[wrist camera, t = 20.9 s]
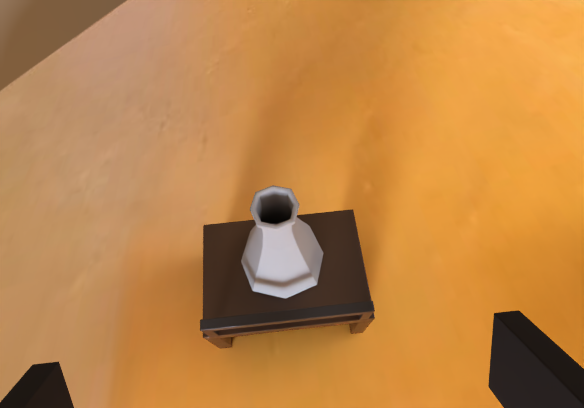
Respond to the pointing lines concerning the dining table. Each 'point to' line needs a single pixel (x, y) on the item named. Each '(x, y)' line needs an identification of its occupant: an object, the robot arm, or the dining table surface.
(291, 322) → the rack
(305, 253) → the flask
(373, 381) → the dining table surface
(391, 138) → the dining table surface
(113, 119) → the dining table surface
